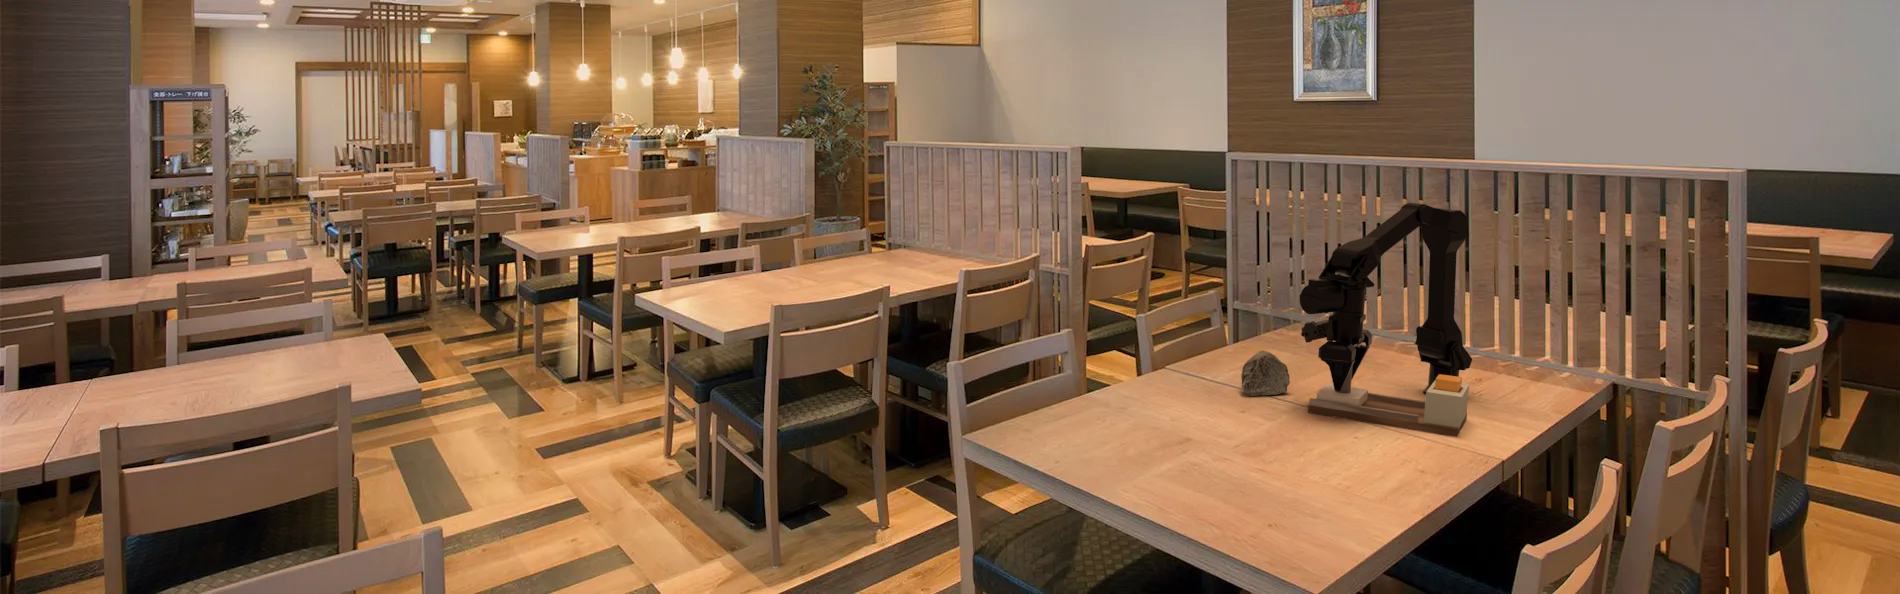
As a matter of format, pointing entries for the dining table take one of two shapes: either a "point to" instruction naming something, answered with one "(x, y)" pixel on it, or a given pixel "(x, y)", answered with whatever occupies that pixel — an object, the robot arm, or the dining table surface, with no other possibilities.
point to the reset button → (1448, 383)
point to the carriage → (1344, 393)
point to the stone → (1264, 375)
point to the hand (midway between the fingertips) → (1343, 385)
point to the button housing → (1446, 406)
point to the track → (1384, 413)
